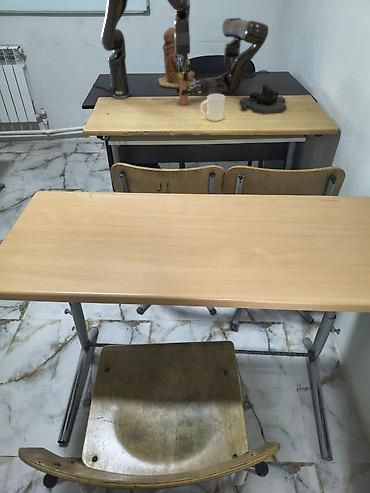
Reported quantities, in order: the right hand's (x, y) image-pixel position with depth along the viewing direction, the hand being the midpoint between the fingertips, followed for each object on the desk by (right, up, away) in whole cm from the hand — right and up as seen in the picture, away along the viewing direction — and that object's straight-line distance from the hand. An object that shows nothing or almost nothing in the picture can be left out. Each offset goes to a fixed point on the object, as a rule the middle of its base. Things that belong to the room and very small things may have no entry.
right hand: (179, 91), depth 188 cm
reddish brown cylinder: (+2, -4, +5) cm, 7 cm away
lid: (+2, +7, -4) cm, 9 cm away
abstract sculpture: (+45, -8, -2) cm, 46 cm away
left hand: (+2, +5, -3) cm, 6 cm away
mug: (+16, -19, -13) cm, 28 cm away
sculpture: (-2, +21, +36) cm, 42 cm away
